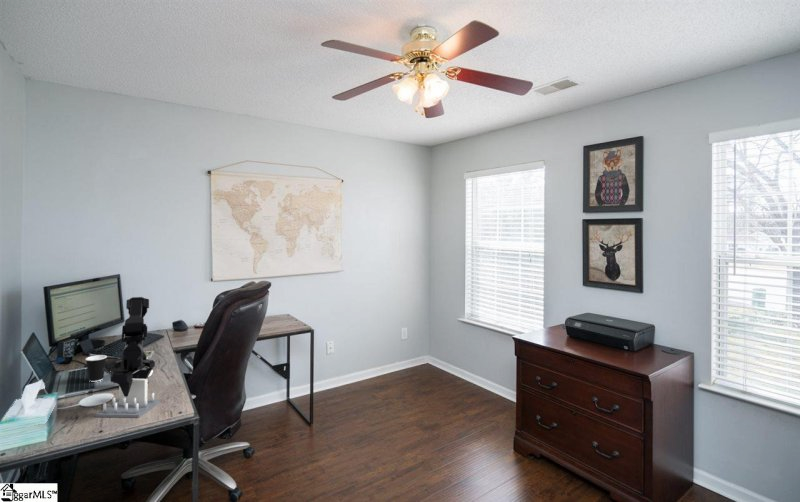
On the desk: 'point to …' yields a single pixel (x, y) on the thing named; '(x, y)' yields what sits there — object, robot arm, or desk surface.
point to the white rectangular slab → (135, 392)
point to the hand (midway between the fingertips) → (133, 391)
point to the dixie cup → (96, 367)
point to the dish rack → (127, 408)
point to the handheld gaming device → (149, 354)
